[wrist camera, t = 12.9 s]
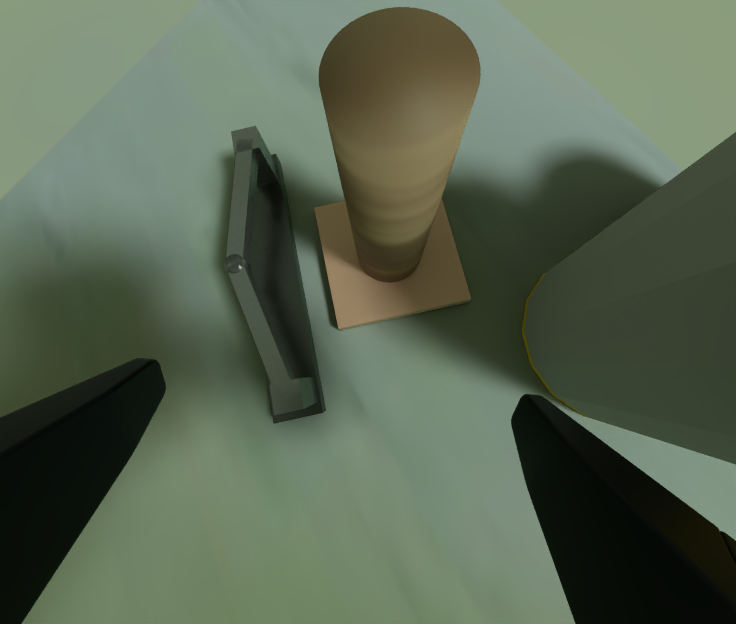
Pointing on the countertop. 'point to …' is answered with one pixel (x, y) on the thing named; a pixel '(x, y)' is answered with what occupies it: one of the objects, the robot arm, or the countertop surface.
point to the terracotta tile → (382, 299)
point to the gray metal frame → (271, 279)
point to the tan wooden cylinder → (396, 127)
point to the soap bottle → (650, 315)
